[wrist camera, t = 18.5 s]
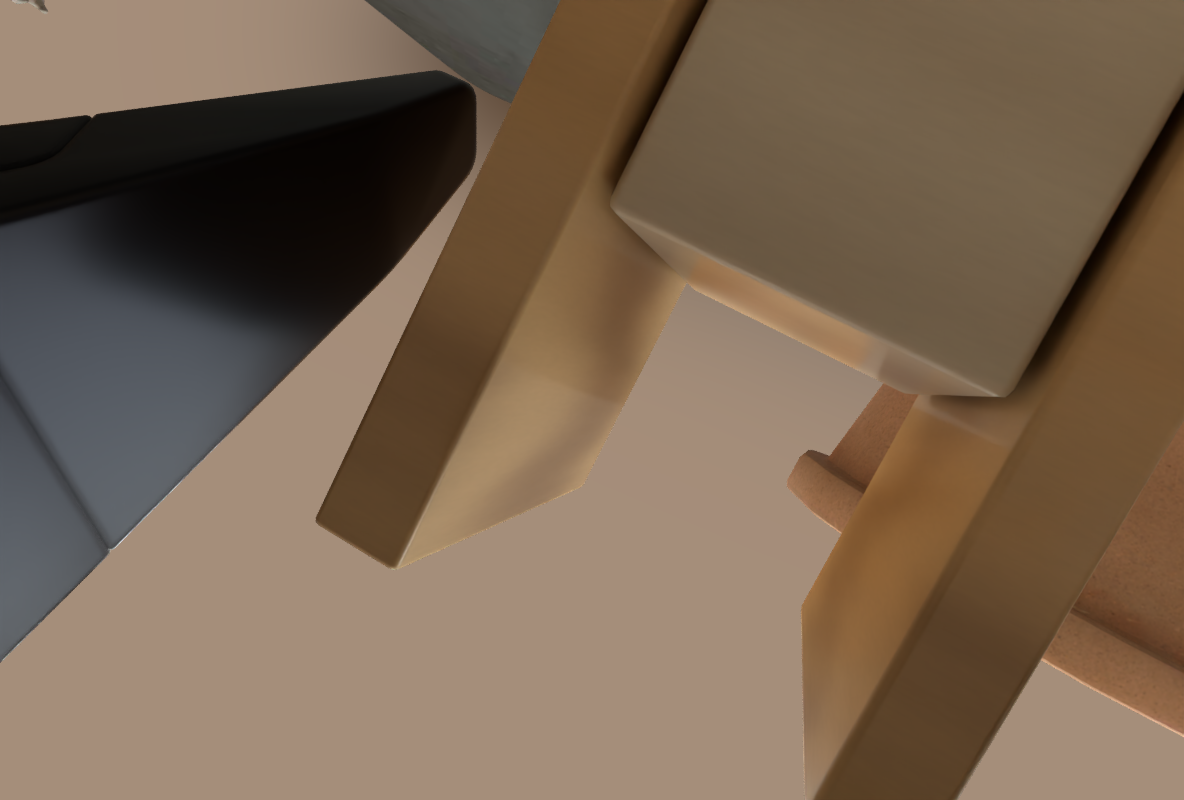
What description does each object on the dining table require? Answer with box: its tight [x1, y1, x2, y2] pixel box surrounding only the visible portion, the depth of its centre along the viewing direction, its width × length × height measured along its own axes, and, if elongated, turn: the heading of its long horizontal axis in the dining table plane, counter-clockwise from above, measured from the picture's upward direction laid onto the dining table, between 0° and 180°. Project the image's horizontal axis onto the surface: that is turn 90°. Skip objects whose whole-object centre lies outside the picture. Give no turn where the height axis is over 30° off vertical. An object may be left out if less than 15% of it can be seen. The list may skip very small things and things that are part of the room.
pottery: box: [787, 383, 1184, 737], centre depth 35 cm, size 22×22×14 cm
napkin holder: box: [316, 0, 1184, 800], centre depth 9 cm, size 6×5×13 cm
